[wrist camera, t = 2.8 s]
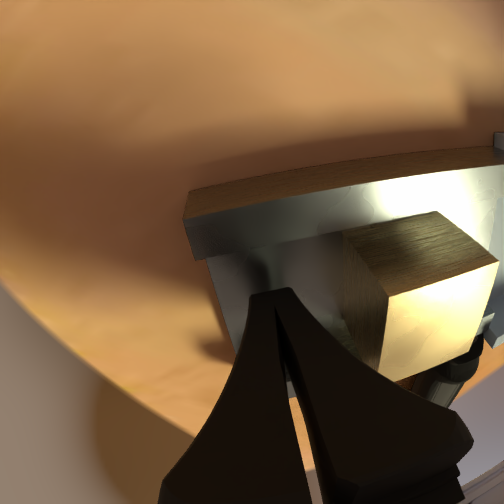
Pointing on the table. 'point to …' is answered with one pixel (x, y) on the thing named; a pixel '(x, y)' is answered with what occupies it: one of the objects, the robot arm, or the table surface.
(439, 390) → the electric trimmer
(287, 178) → the slot bed
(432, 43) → the table surface
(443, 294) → the yellow cube
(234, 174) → the table surface
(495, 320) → the tray
